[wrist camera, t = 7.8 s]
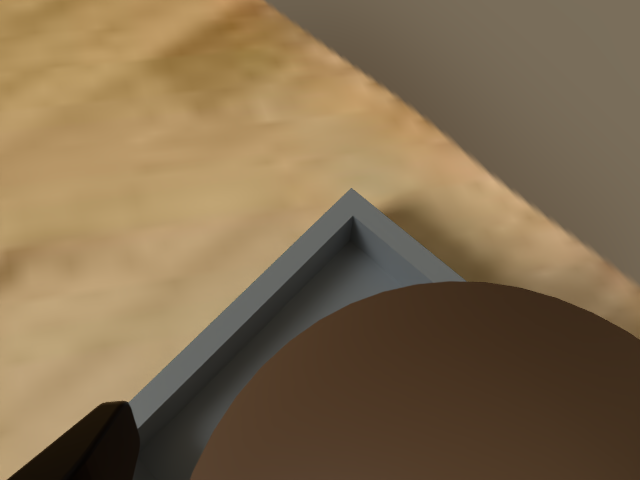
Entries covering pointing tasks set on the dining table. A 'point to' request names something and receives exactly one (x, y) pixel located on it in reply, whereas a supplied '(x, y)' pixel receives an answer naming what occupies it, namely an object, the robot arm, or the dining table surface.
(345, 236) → the box
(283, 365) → the handle
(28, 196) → the dining table surface
